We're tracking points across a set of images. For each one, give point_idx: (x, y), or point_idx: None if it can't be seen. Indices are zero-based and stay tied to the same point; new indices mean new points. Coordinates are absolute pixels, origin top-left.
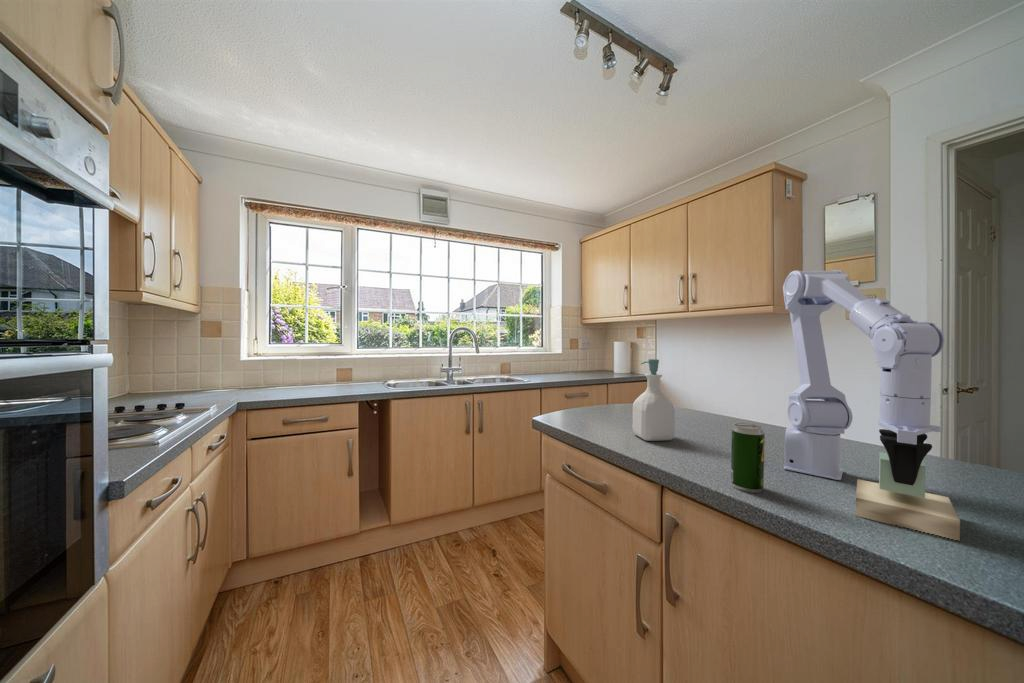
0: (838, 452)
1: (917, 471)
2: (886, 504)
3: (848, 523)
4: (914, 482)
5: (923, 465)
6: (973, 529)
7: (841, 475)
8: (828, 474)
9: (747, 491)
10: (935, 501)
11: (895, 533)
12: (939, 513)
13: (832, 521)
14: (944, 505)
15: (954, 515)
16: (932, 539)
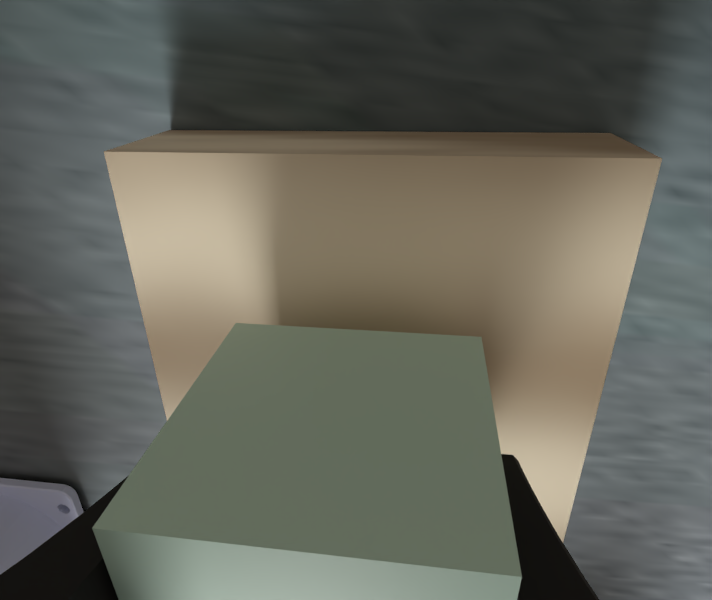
0: None
1: (578, 571)
2: (583, 461)
3: (666, 501)
4: (520, 471)
5: (491, 584)
6: (317, 34)
7: (10, 486)
8: (57, 526)
9: None
10: (294, 237)
11: (678, 370)
12: (565, 249)
13: (681, 542)
14: (346, 200)
15: (545, 173)
16: (660, 244)
